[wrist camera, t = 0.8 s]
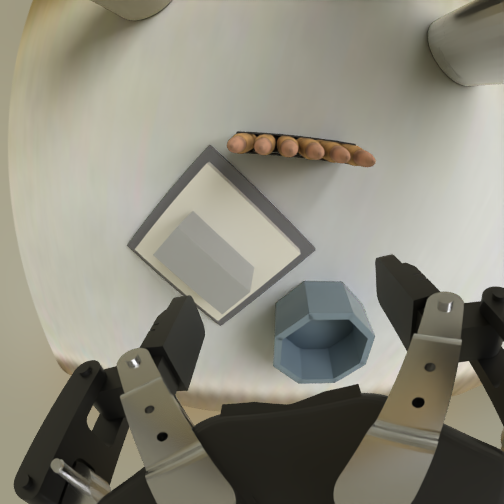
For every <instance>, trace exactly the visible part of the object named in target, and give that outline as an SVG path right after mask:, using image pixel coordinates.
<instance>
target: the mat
mask: <svg viewBox="0 0 504 504" xmlns="http://www.w3.org/2000/svg"><path fill="white" fill-rule="evenodd" d="M208 162H210V163H211V164H213V165H214V166H215V167H216V168H217V169H218V170H219V171H220V172H221V173H222V174H223V175H224V176H225V177H226V178H227V179H228V180H230V181H231V182H232V183H233V184H234V185H235V186H236V187H237V188H238V189H239V190H240V191H241V192H242V193H243V194H244V195H245V196H246V197H247V198H248V199H249V200H250V201H251V202H252V203H254V204H255V205H256V206H257V207H258V208H259V209H260V210H261V211H262V212H263V213H264V214H265V215H266V216H267V217H268V218H269V219H270V220H271V221H272V222H273V223H274V224H275V225H276V226H277V227H278V228H279V229H280V230H281V231H282V232H283V233H284V234H285V235H286V236H287V237H288V238H289V239H290V240H291V241H292V242H293V243H294V244H295V245H296V246H297V247H298V248H299V249H300V253H301V254H300V255H299V256H298V257H296V258H295V259H294V260H293V261H292V262H290V263H289V264H288V265H287V266H286V267H284V268H283V269H282V270H281V271H280V272H278V273H277V274H276V275H275V276H273V277H272V278H271V279H270V280H269V281H267V282H266V283H265V284H264V285H263V286H261V287H260V288H259V289H258V290H256V291H255V292H254V293H253V294H251V295H250V296H249V297H248V298H246V299H245V300H244V301H243V302H241V303H240V304H239V305H238V306H236V307H235V308H234V309H233V310H231V311H230V312H229V313H228V314H226V315H225V316H224V317H223V318H221V319H220V320H219V321H217V320H216V319H215V318H213V317H212V316H211V315H210V314H208V313H207V312H206V311H205V310H203V309H202V308H201V307H200V306H199V305H197V304H196V303H195V305H196V307H198V308H199V309H200V310H201V311H202V312H204V313H205V314H206V315H207V316H209V317H210V318H211V319H212V320H214V321H215V322H216V323H217V324H219V325H220V326H221V325H223V324H224V323H225V322H226V321H228V320H229V319H230V318H232V317H233V316H234V315H236V314H237V313H238V312H239V311H241V310H242V309H243V308H244V307H246V306H247V305H248V304H250V303H251V302H252V301H253V300H255V299H256V298H257V297H258V296H260V295H261V294H262V293H263V292H265V291H266V290H267V289H268V288H270V287H271V286H272V285H273V284H275V283H276V282H277V281H278V280H280V279H281V278H282V277H283V276H285V275H286V274H287V273H288V272H289V271H291V270H292V269H293V268H294V267H296V266H297V265H298V264H299V263H300V262H302V261H303V260H304V259H305V258H306V257H308V256H309V255H310V254H311V253H312V252H314V251H315V247H314V246H313V245H312V244H311V243H310V242H309V241H308V240H307V239H306V238H305V237H304V236H303V235H302V234H301V233H300V232H299V231H298V230H297V229H296V228H295V227H294V226H293V225H292V224H291V223H290V222H289V221H288V220H287V219H286V218H285V217H284V216H283V215H282V214H281V213H280V211H279V210H278V209H277V208H276V207H275V206H274V205H273V204H272V203H270V202H269V201H268V200H267V199H266V198H265V197H264V196H263V195H262V194H261V193H260V192H259V191H258V190H257V189H256V188H255V187H254V186H253V185H252V184H251V183H250V182H249V181H248V180H247V179H246V178H245V177H244V176H243V175H242V174H241V173H240V172H239V171H238V170H237V169H235V168H234V167H233V166H232V165H231V164H230V163H229V162H228V161H227V160H226V159H225V158H224V157H223V156H222V155H221V154H220V153H218V152H217V151H216V150H215V149H214V148H213V147H212V146H211V145H209V146H208V147H207V148H206V149H205V150H204V151H203V152H202V153H201V154H200V156H199V157H198V158H197V159H196V160H195V161H194V162H193V163H192V165H191V166H190V167H189V168H188V169H187V170H186V171H185V173H184V174H183V175H182V176H181V177H180V178H179V180H178V181H177V182H176V183H175V184H174V185H173V187H172V188H171V189H170V190H169V191H168V193H167V194H166V195H165V196H164V198H163V199H162V200H161V201H160V203H159V204H158V205H157V206H156V208H155V209H154V210H153V211H152V213H151V214H150V215H149V216H148V218H147V219H146V220H145V222H144V223H143V224H142V226H141V227H140V228H139V230H138V231H137V232H136V234H135V235H134V236H133V238H132V239H131V240H130V242H129V243H128V245H127V246H128V247H129V248H130V249H131V250H133V251H134V252H135V253H136V254H137V255H138V256H139V257H140V258H141V259H142V260H143V261H144V262H146V263H147V264H148V265H149V266H150V267H151V268H152V269H153V270H154V271H156V272H157V273H158V274H159V275H160V276H161V277H162V278H163V279H165V280H166V281H167V282H168V283H169V284H170V285H171V286H173V287H174V288H175V289H176V290H177V291H178V292H180V293H181V294H182V295H183V296H187V295H185V294H184V293H183V292H182V291H181V290H180V289H178V288H177V287H176V286H175V285H174V284H173V283H171V282H170V281H169V280H168V279H167V278H166V277H165V276H163V275H162V274H161V273H160V272H159V271H158V270H157V269H156V268H154V267H153V266H152V265H151V264H150V263H149V262H148V261H147V260H146V259H144V258H143V257H142V256H141V255H140V254H139V253H138V252H137V251H136V250H135V249H136V247H137V246H138V245H139V243H140V242H141V241H142V239H143V238H144V237H145V235H146V234H147V233H148V232H149V230H150V229H151V228H152V227H153V225H154V224H155V223H156V222H157V220H158V219H159V218H160V217H161V215H162V214H163V213H164V212H165V211H166V209H167V208H168V207H169V206H170V205H171V203H172V202H173V201H174V200H175V199H176V197H177V196H178V195H179V194H180V193H181V192H182V190H183V189H184V188H185V187H186V186H187V185H188V184H189V182H190V181H191V180H192V179H193V178H194V177H195V176H196V175H197V173H198V172H199V171H200V170H201V169H202V168H203V167H204V166H205V165H206V164H207V163H208Z"/></svg>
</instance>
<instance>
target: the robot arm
mask: <svg viewBox="0 0 504 504" xmlns="http://www.w3.org/2000/svg"><path fill="white" fill-rule="evenodd" d="M428 42H429V47H430V50H431V53H432V55H433V57H434V59H435V61H436V62H437V64H438V65H439V67H440V68H441V69H442V70H443V71H444V73H445V74H446V75H447V76H448V77H450V78H451V79H452V80H454V81H455V82H456V83H458V84H461V85H463V86H478V85H492V84H504V0H475V1H473V2H470V3H468V4H466V5H464V6H462V7H460V8H458V9H457V10H455V11H453V12H451V13H449V14H447V15H445V16H443V17H441V18H440V19H438V20H436V21H435V22H433V23H432V24H431V25H430V27H429V30H428ZM375 266H376V287H377V297H378V301H379V303H380V305H381V307H382V309H383V310H384V312H385V314H386V315H387V317H388V319H389V320H390V322H391V324H392V325H393V327H394V329H395V331H396V332H397V334H398V336H399V338H400V339H401V341H402V343H403V345H404V347H405V348H406V350H407V354H406V356H405V359H404V361H403V364H402V366H401V369H400V371H399V374H398V376H397V378H396V381H395V383H394V385H393V387H392V390H391V392H390V394H389V396H385V395H381V394H374V393H361V391H360V388H359V385H358V384H356V385H352V386H348V387H343V388H339V389H334V390H330V391H325V392H322V393H320V394H317V395H315V396H312V397H310V398H307V399H304V400H302V401H299V402H296V403H293V404H289V405H284V404H270V403H259V402H249V403H238V404H223V405H222V409H221V414H220V415H216V416H214V417H211V418H208V419H206V420H204V421H202V422H200V423H198V424H197V425H195V426H194V424H193V423H192V421H191V420H190V418H189V417H188V415H187V414H186V412H185V410H184V409H183V407H182V406H181V404H180V402H179V401H178V399H177V398H176V396H175V394H176V391H188V388H189V385H190V382H191V379H192V375H193V372H194V369H195V366H196V362H197V359H198V356H199V353H200V350H201V346H202V343H203V340H204V337H205V330H204V325H203V322H202V320H201V317H200V315H199V312H198V310H197V307H196V305H195V302H194V300H193V298H192V296H190V295H187V296H181V297H175V298H173V300H172V302H171V303H170V305H169V307H168V308H167V310H165V311H164V312H162V313H161V314H160V315H159V316H158V317H157V319H156V320H155V322H154V325H153V326H152V327H151V329H150V331H149V332H148V334H147V336H146V338H145V339H144V341H143V343H142V344H141V346H140V348H136V349H132V350H130V351H128V352H126V353H125V354H123V355H122V356H121V357H120V359H119V360H118V362H117V366H116V367H112V368H108V369H104V370H103V368H102V367H101V365H100V364H99V362H98V361H95V360H91V361H87V362H85V363H83V364H81V365H80V366H79V367H78V368H77V369H76V370H75V371H74V373H73V374H72V376H71V377H70V379H69V380H68V382H67V384H66V385H65V387H64V388H63V390H62V392H61V393H60V395H59V396H58V398H57V400H56V402H55V403H54V405H53V406H52V408H51V410H50V412H49V413H48V415H47V417H46V419H45V420H44V422H43V424H42V426H41V427H40V429H39V431H38V433H37V435H36V437H35V438H34V440H33V442H32V444H31V446H30V448H29V450H28V452H27V454H26V456H25V458H24V460H23V462H22V464H21V466H20V468H19V470H18V472H17V475H16V477H15V480H14V489H15V492H16V494H17V495H18V496H19V497H20V498H21V499H23V500H24V501H25V502H27V503H29V504H504V428H503V431H502V434H501V444H502V447H501V450H500V449H498V448H496V447H494V446H492V445H489V444H487V443H485V442H482V441H480V440H478V439H476V438H473V437H471V436H469V435H467V434H465V433H462V432H460V431H458V430H456V429H454V428H452V427H450V426H448V425H446V424H444V420H445V416H446V413H447V410H448V406H449V402H450V399H451V395H452V391H453V386H454V382H455V377H456V372H457V367H458V362H465V361H469V362H470V363H471V365H472V367H473V369H474V370H475V372H476V374H477V375H478V377H479V379H480V381H481V383H482V384H483V386H484V388H485V390H486V392H487V394H488V395H489V397H490V399H491V401H492V403H493V405H494V407H495V409H496V411H497V413H498V415H499V418H500V420H501V422H502V424H503V426H504V349H503V348H502V346H501V345H502V342H503V341H504V288H502V287H490V288H487V289H486V290H484V292H483V294H482V299H481V301H480V302H471V303H464V302H463V300H462V298H461V297H460V296H458V295H457V294H454V293H451V292H440V291H439V290H438V289H437V288H436V287H435V286H434V285H433V284H432V283H431V282H430V281H429V280H428V279H426V277H425V276H424V275H423V274H421V272H420V271H419V270H418V269H417V268H416V267H415V266H413V265H410V264H408V263H401V262H400V261H399V260H398V259H397V258H396V257H395V256H394V255H393V254H391V255H387V256H383V257H379V258H376V261H375ZM92 406H94V407H95V408H96V409H97V410H98V411H99V413H100V415H99V417H98V419H97V421H96V423H95V425H94V428H93V430H92V431H91V430H90V429H89V427H88V425H87V416H88V414H89V412H90V410H91V408H92ZM129 427H130V430H131V433H132V435H133V438H134V441H135V443H136V446H137V448H138V451H139V454H140V456H141V459H142V461H143V463H144V466H145V467H143V468H142V469H141V470H140V471H138V472H137V473H136V474H134V475H133V476H132V477H130V478H129V479H128V480H126V481H125V482H123V483H122V484H121V485H119V486H118V487H117V488H115V489H114V490H112V491H111V489H110V483H111V479H112V476H113V473H114V470H115V467H116V464H117V461H118V458H119V454H120V452H121V449H122V446H123V443H124V440H125V437H126V434H127V431H128V429H129Z"/></svg>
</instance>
